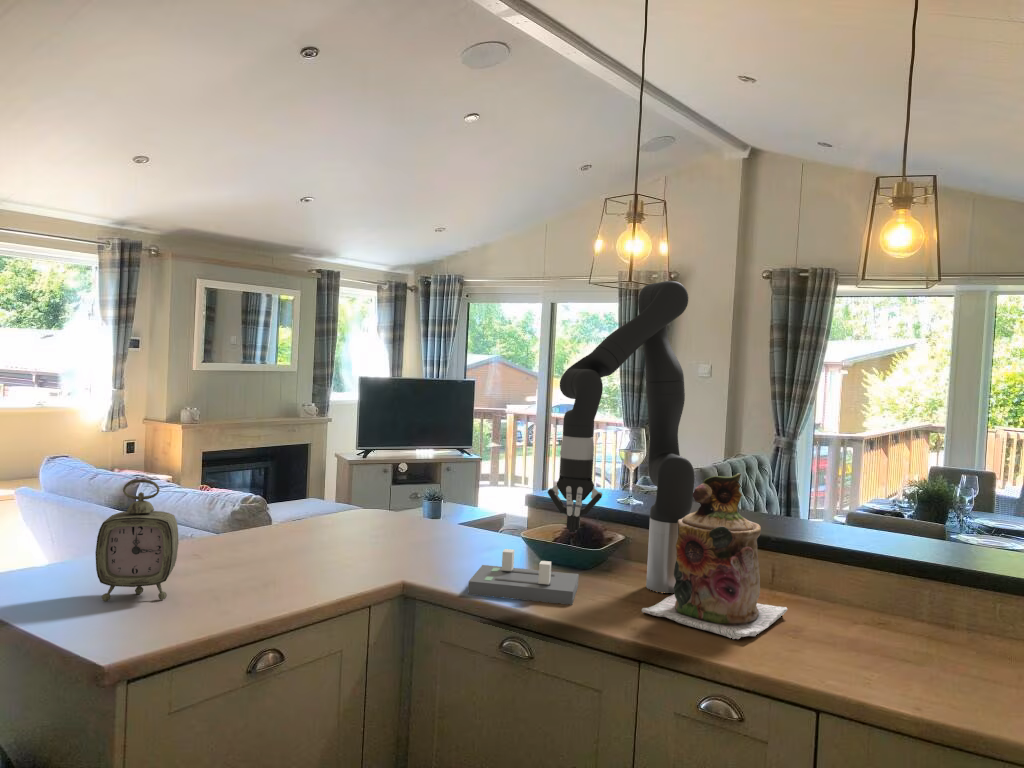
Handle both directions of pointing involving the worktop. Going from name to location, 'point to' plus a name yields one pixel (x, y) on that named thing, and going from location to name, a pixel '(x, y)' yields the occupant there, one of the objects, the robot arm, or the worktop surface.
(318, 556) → the worktop surface
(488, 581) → the slider control panel
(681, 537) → the cookie jar
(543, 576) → the block
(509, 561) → the block
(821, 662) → the worktop surface
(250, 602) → the worktop surface
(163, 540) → the tabletop clock
